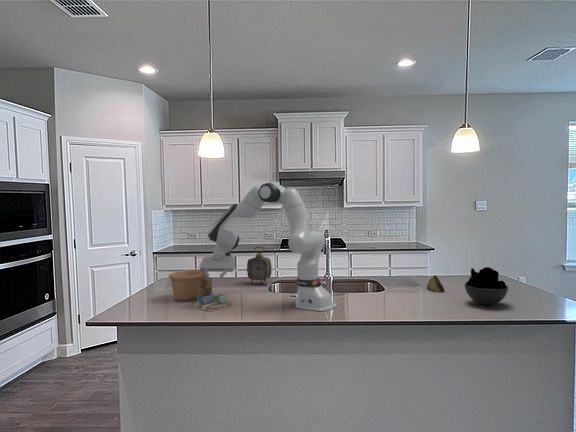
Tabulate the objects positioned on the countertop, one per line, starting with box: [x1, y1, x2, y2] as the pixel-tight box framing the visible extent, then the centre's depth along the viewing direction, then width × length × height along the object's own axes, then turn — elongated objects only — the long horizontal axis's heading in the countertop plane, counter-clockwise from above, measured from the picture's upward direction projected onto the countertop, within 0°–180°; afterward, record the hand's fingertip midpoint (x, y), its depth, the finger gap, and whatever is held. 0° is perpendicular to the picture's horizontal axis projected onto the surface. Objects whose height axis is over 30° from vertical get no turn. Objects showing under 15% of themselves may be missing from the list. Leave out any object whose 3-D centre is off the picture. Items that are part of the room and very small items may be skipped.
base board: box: [191, 292, 233, 312], centre depth 215 cm, size 16×14×6 cm
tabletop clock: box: [246, 246, 273, 286], centre depth 266 cm, size 14×9×25 cm, turn 67°
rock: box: [426, 274, 446, 293], centre depth 238 cm, size 11×9×10 cm
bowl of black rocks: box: [464, 266, 509, 306], centre depth 206 cm, size 20×20×19 cm
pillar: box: [200, 276, 213, 296], centre depth 214 cm, size 4×4×9 cm
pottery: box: [168, 269, 206, 302], centre depth 232 cm, size 22×22×14 cm
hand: (214, 276), depth 226 cm, fingers open, 8 cm apart
